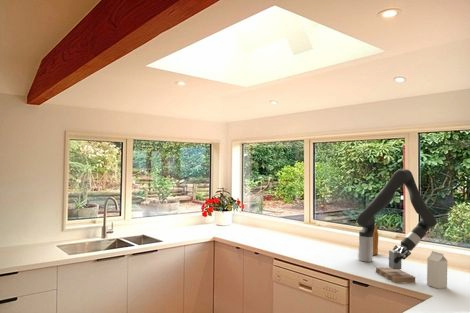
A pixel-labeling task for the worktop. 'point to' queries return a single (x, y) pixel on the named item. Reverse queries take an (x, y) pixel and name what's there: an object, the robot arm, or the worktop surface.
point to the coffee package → (375, 241)
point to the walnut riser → (395, 274)
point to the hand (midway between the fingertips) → (392, 261)
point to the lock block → (392, 256)
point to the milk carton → (437, 270)
